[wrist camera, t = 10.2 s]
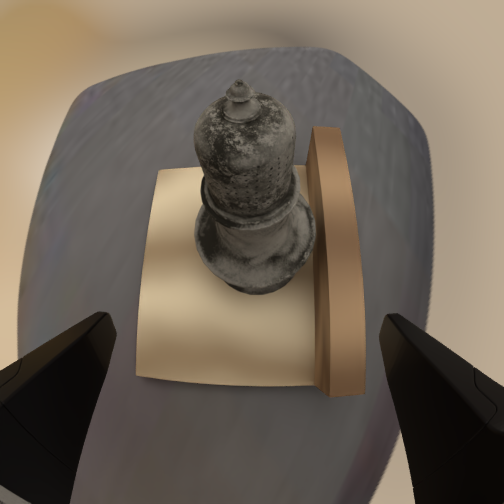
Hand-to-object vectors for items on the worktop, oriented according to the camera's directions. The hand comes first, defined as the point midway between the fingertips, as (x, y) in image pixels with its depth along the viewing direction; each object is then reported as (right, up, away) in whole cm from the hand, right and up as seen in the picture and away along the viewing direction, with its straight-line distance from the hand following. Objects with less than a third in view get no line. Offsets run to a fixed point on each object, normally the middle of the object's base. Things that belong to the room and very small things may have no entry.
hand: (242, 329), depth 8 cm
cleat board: (0, +1, +10) cm, 10 cm away
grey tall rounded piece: (+1, +2, +9) cm, 9 cm away
